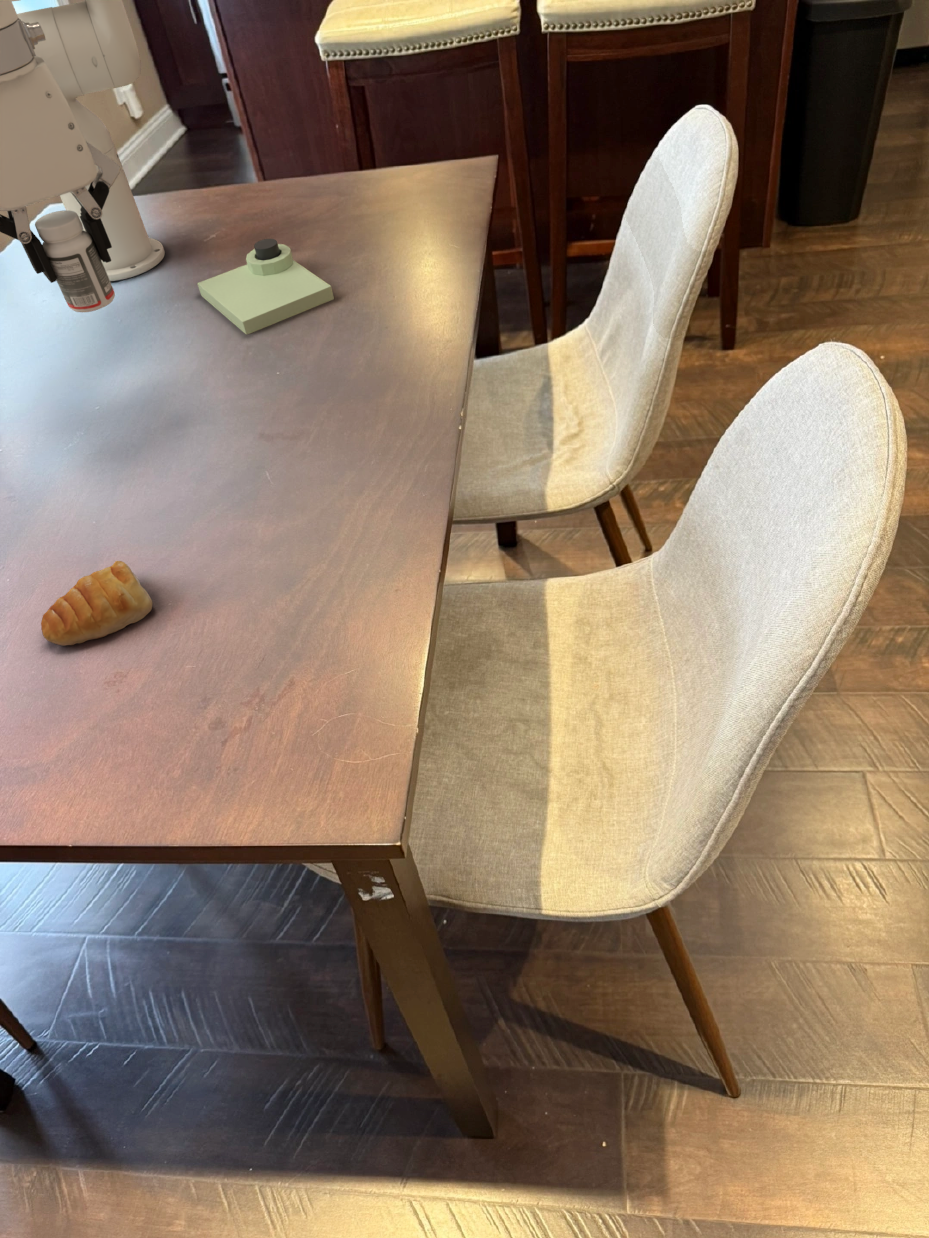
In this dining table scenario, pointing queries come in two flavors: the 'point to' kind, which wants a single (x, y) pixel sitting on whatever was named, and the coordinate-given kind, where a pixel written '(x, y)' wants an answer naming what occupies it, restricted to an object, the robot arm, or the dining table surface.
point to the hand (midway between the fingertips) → (76, 265)
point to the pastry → (97, 606)
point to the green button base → (265, 291)
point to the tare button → (267, 249)
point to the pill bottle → (75, 261)
